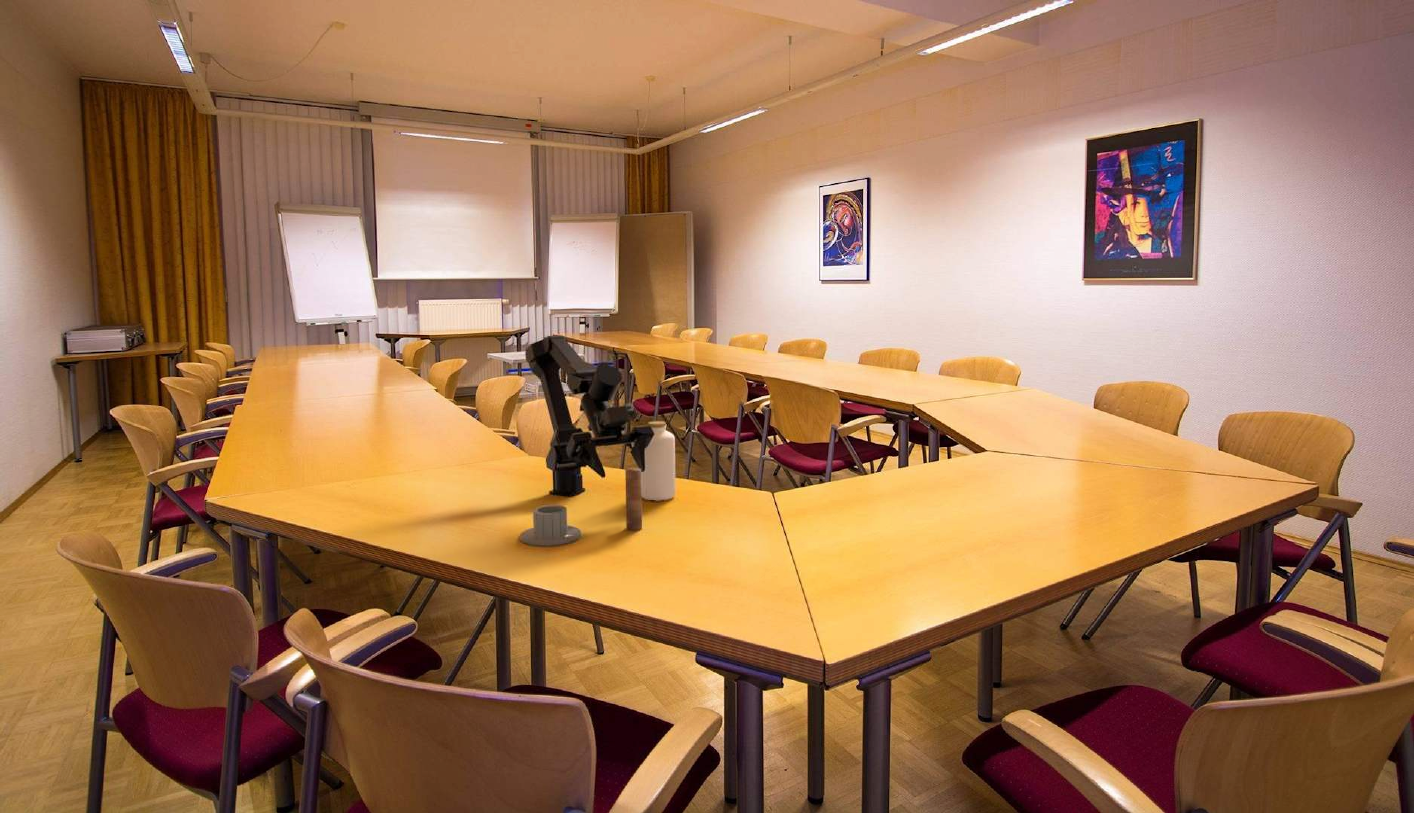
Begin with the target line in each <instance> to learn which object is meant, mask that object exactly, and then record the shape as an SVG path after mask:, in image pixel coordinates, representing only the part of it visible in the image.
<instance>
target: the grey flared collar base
mask: <svg viewBox="0 0 1414 813" xmlns="http://www.w3.org/2000/svg"><path fill="white" fill-rule="evenodd" d="M567 511H568V509H567V507H566V506H564V505H559V504H558V505H557V504H547V505H541V506H538V507H535V508H533V510H532V518H533V521H532V523H533V527H531V528H528V529H526V530H523V531H522V532H521V533H520V535H519V540H520V542H521V543H523V544H524V545H527V546H531V547H542V548H544V547H545V548H546V547H548V548H549V547H558V546H565V545H568V544H572V543H574V542H577V541H578V540H580V538H582V530H581V529H580V528H578V527H576V526H573V525H568V512H567Z"/></svg>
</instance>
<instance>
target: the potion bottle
mask: <svg viewBox="0 0 1414 813" xmlns="http://www.w3.org/2000/svg"><path fill="white" fill-rule="evenodd" d="M647 425H649V426H651V427H652V429H653V431H654V433H655V434H654V436H653V438H652V440H651V441H650V443H649V445H648V447H647V448H645V471H644V472H642V471H641V494H642V499H643V500H646V501H650V500H655V501H654V502H660V501H659V500H664V501H669V500H671V499H672V498H674V497H675V496H676V445H675V444H676V437H675V435H674V434H673V433H672V432H670V431H668V430H667V425H666V421H660V420H655V421H649V422H648V424H647Z"/></svg>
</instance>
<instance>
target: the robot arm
mask: <svg viewBox="0 0 1414 813" xmlns="http://www.w3.org/2000/svg"><path fill="white" fill-rule="evenodd" d="M524 352H525V354H524V355H525V360H526V361H525V362H527V363H528V366H529V369H530V371H531V373H532V374H534V376H536V377H537V378H538V379H539V381H540V384H541V385H540V386H541V387H542V392H543V396H544V399H545V403H546V407H547V411H548V414H549V419H550V423H551V426H552V431H553V434H552V437H551V440H550V443H549V445H550V448H549V450H548V453H547V455H546V457H545V465H546V468H547V469H549V470H550V471H552V472H551V473H552V489H551V490H549V491H548V494H552V495H557V496H565V497H571V496H572V497H573V496H574V494H575V495H577V494H580V493H582V492H581V491H583V492H585V491H586V488H585V487H583V483H584V482H583V473H582V470H581V469H582V468H586V467H588V468H590V469H591V470H593V471H594V472H595V473H596V474H598V476H600V477H601V478H602V479H604V478H605V477H606V475H607V474H606V470H605V468H604V467H603V464H602V462H601V460H600V457H599V455H598V451H597V447H598V448H599V447H608V446H609V447H610V446H619V445H625V444H627V445H628V448H629V449H630V454H631V456H632V458H633V460H634V462H635V463H636V465H637V468H640V469H641V471H642V472H644V471H645V448H647V447H648V445H649V443H650V441H651V440H652V438H653V436H654V434H655V433H654V431H653V429H652V427H651V426H649V424H646V425H636V426H635V425H634V426H633V428H632V430H630V433H624V434H623V432H622V431H625V429H626V424H627V423H630V422H631V420H633V419H635V418H636V417H637V411H636V408H635V406H634V404H633V403H631V402H630V403H625V404H624V405H622V406H614V407H613V406H611V404H610V401H612V400H613V399H614V398H615V395H616V394H617V391H618V388H619V387H620V385H621V383H622V380H623V375H622V373H621V371H620V370H619V369H617V368H615V367H614V366H612V365H610V364H609V362H608V361H602V362H601V361H600V362H599V361H598V363H597V366H596V365H595V364H594V363H589V362H588V361H585V360H584V359H583V358H582V357H581V356H580V355H579V354H578V352H577V351H576V350H575V349H574V348H573V347H572V346H571V344H570V343H569V341H568V338H567V337H566V335H565V336H564V335H561V334H559V335H547V336H545V337H543V338H542V339H540V340H537V341H536V342H533V343H530V345H529V346H528V347H527V348H526V349H525V351H524ZM560 369H562V371H563V372H564V373H565V375H566V382H565V383H566V385H567V387H568V390H569V391H570V392H571V393H572V394H573V395H582V397H581V399H580V405H579V411H580V412H584V414H585V416H586V419H587V421H588V426H587V429H588V431H584V430H583V429H582V427H576V426H575V425H574V424H573V421H572V417H571V413H570V410H569V406H568V401H567V398H566V394H565V391H564V387H563V383H562V379H561V376H560ZM591 432H592V433H591ZM592 434H593V436H592ZM579 492H580V493H579Z"/></svg>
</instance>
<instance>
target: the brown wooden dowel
mask: <svg viewBox="0 0 1414 813" xmlns="http://www.w3.org/2000/svg"><path fill="white" fill-rule="evenodd" d="M624 471H625V514H626V515H625V516H626V517H625V522H626V523H625V524H626V530H627V531H630V532H638V530H639V531H641V530H643V511H642V510H643V507H642V506H643V505H642V504H643V502H642V501H643V500H642V499H643V497H642V494H641V469H640V468H639V467H629V468H628V467H627V468H625V470H624ZM640 529H641V530H640Z"/></svg>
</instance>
